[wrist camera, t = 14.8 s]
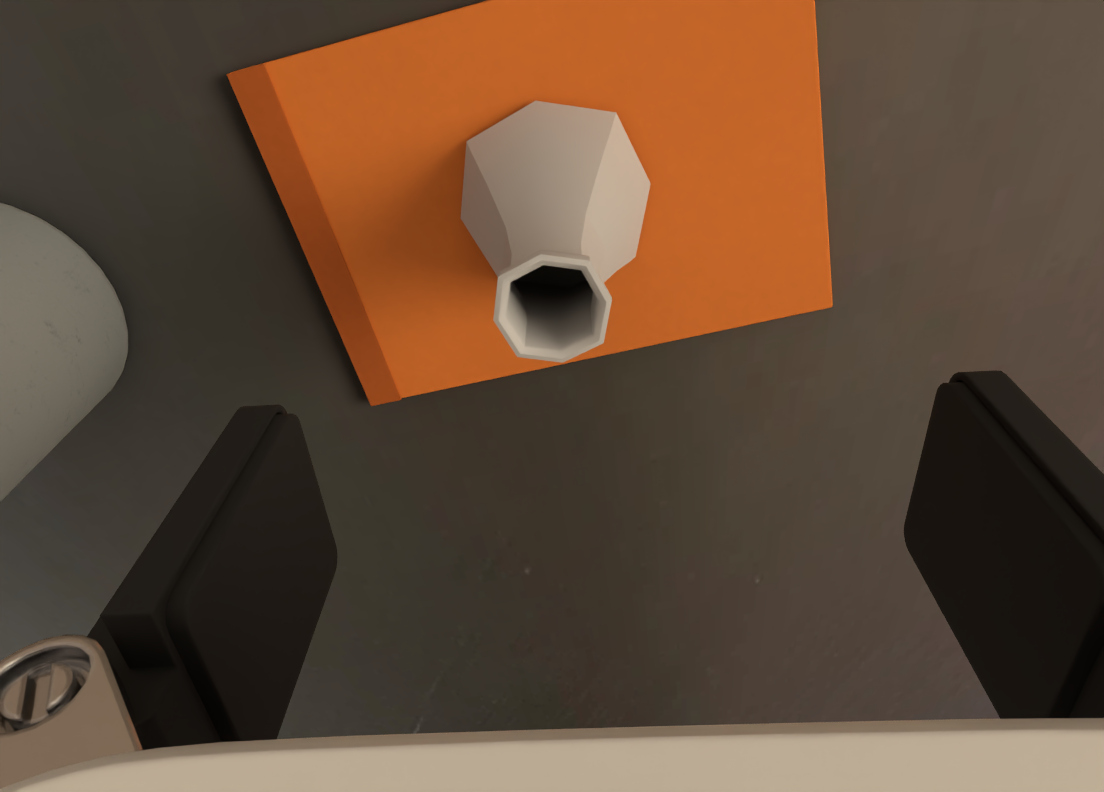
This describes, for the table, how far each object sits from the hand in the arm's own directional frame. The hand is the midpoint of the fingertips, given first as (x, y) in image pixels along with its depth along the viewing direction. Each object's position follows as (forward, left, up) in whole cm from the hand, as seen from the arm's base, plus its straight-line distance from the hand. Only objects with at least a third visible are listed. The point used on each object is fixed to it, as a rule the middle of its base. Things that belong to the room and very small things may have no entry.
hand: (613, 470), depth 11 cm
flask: (+1, -1, -19) cm, 19 cm away
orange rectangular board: (+1, -1, -20) cm, 20 cm away
